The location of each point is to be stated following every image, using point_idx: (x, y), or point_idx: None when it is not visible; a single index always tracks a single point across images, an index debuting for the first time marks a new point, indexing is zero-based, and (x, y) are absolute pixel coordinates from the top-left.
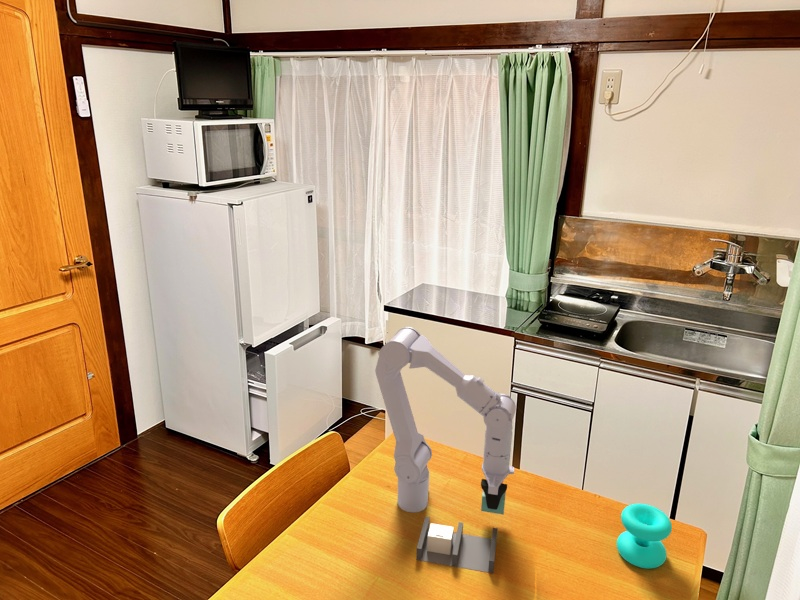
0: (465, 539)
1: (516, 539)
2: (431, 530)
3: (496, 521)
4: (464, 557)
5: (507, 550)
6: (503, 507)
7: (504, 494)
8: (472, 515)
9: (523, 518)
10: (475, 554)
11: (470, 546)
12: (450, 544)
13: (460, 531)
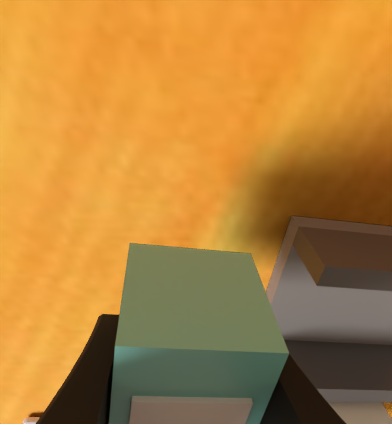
0: (289, 329)
1: (269, 123)
2: None
3: (143, 209)
4: (379, 329)
5: (339, 172)
6: (264, 296)
7: (211, 355)
8: (119, 298)
9: (90, 60)
10: (371, 299)
11: (328, 314)
12: (382, 406)
13: (327, 392)
